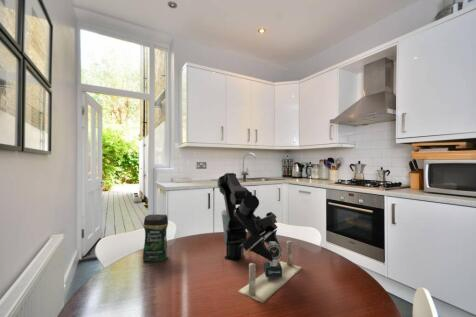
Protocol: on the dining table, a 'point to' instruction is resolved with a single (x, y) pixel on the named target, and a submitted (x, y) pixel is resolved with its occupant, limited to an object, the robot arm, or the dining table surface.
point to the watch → (273, 261)
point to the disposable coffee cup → (224, 219)
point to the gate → (269, 279)
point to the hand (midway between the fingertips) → (276, 256)
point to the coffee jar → (155, 238)
